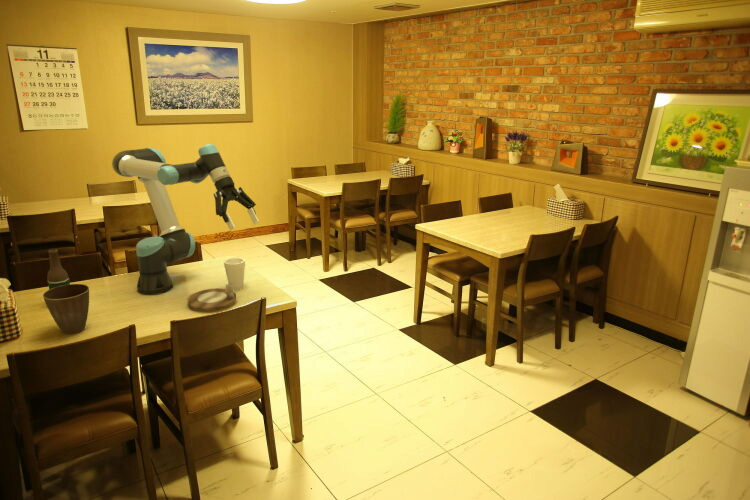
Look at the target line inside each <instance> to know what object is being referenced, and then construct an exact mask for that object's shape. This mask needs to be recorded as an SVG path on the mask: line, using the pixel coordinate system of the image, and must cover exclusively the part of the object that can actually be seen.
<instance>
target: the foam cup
mask: <svg viewBox="0 0 750 500" xmlns="http://www.w3.org/2000/svg"><path fill="white" fill-rule="evenodd" d="M223 267H224V269H225V270H224V271H225V275H226V279H227V284H233V291H235V290H236V291H238V290H241V289H243V288H244V283H245V282H244V280H245V267H246V259H245V258H242V257H231V258H226V259H225V260H224V261H223Z"/></svg>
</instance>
